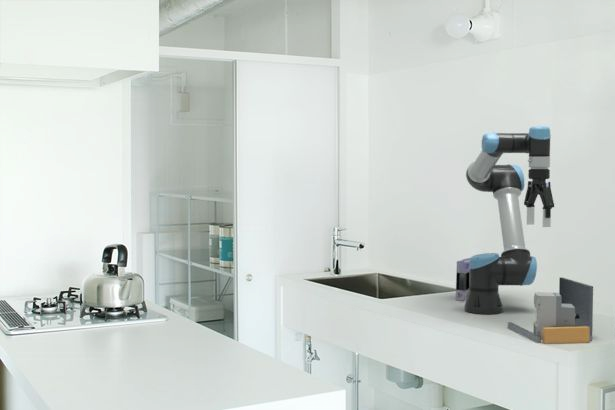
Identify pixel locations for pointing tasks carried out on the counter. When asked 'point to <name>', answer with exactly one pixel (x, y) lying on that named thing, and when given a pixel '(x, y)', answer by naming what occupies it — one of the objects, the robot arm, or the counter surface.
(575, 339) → the orange rectangular bar
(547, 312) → the circuit breaker
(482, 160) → the robot arm
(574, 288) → the dark grey piece
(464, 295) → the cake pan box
